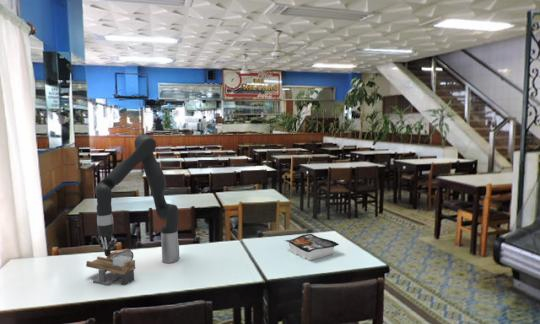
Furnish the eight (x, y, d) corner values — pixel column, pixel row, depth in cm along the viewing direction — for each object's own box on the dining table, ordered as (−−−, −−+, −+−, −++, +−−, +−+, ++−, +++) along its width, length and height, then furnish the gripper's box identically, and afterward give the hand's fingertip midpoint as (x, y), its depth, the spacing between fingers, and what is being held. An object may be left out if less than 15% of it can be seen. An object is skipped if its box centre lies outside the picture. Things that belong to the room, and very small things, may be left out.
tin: (132, 260, 221) (131, 246, 220) (134, 262, 219) (133, 248, 218) (106, 268, 210) (105, 253, 209) (108, 269, 208) (107, 254, 207)
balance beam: (98, 262, 204) (98, 253, 204) (135, 270, 194) (134, 260, 194) (86, 268, 197) (85, 258, 196) (123, 276, 187) (123, 265, 186)
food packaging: (283, 239, 233) (311, 232, 246) (283, 251, 234) (311, 244, 247) (309, 251, 213) (339, 243, 225) (309, 264, 214) (339, 255, 226)
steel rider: (120, 264, 196) (120, 255, 195) (131, 266, 193) (130, 257, 192) (113, 268, 191) (112, 258, 190) (123, 270, 188) (123, 260, 188)
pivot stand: (114, 272, 205) (113, 259, 204) (140, 277, 198) (139, 264, 197) (93, 282, 192) (92, 269, 191) (119, 288, 185) (118, 274, 184)
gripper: (120, 222, 194) (123, 254, 196) (101, 219, 199) (104, 251, 202) (109, 226, 187) (111, 260, 190) (89, 223, 193) (92, 256, 195)
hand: (107, 255), depth 196 cm, fingers closed
